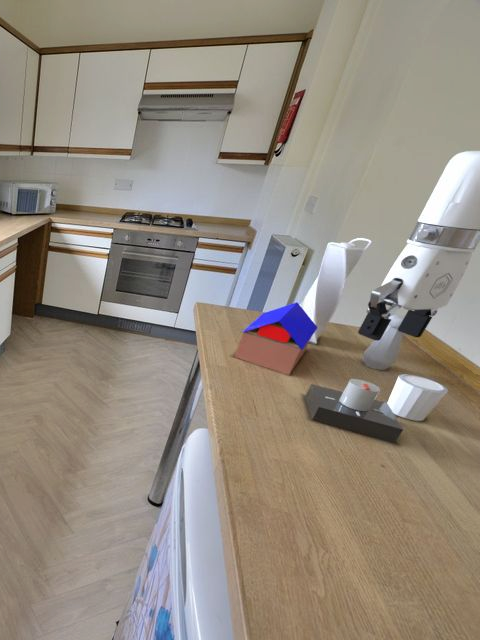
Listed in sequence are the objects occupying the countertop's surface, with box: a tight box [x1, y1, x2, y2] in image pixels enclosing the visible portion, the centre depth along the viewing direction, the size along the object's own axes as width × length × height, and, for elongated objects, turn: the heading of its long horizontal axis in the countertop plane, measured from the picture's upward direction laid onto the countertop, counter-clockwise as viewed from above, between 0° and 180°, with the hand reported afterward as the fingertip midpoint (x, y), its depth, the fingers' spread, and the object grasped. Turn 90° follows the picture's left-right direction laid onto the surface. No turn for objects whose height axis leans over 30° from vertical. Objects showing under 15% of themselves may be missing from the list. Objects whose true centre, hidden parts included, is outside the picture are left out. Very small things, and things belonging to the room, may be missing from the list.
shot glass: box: [386, 373, 449, 422], centre depth 80 cm, size 7×7×7 cm
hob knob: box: [339, 378, 381, 411], centre depth 77 cm, size 4×4×5 cm
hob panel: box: [305, 383, 404, 444], centre depth 79 cm, size 12×10×3 cm
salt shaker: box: [362, 314, 405, 371], centre depth 97 cm, size 6×6×13 cm
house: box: [234, 301, 318, 376], centre depth 101 cm, size 12×20×12 cm, turn 134°
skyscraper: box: [299, 237, 373, 345], centre depth 108 cm, size 8×8×28 cm
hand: (388, 335), depth 72 cm, fingers open, 9 cm apart
